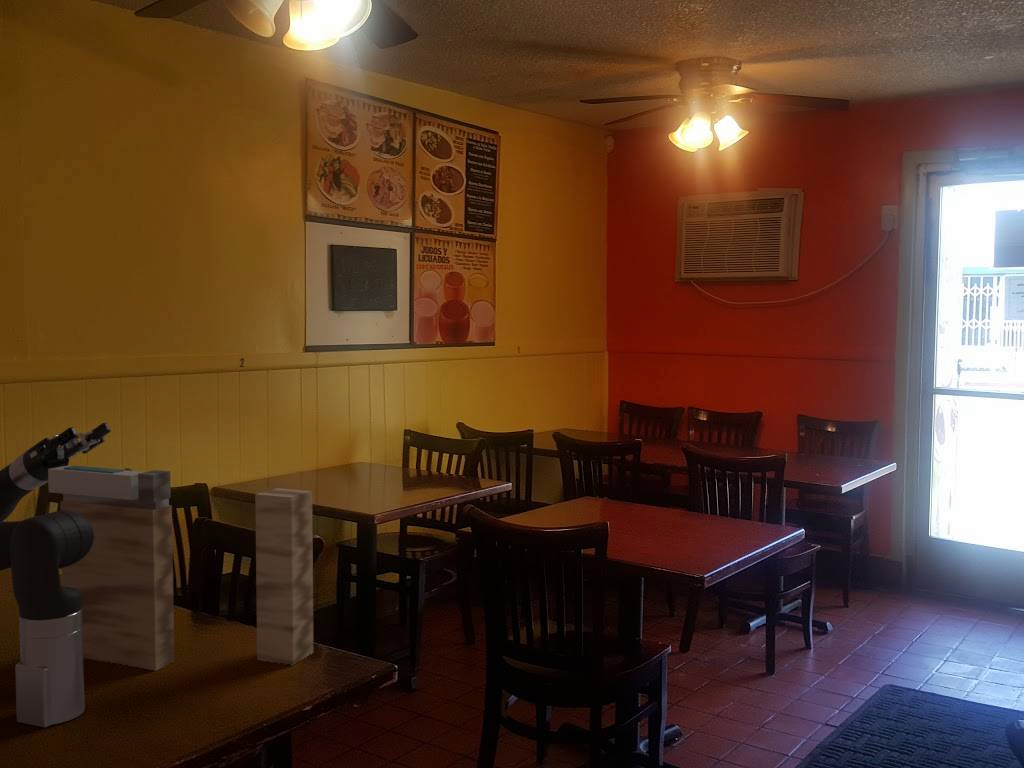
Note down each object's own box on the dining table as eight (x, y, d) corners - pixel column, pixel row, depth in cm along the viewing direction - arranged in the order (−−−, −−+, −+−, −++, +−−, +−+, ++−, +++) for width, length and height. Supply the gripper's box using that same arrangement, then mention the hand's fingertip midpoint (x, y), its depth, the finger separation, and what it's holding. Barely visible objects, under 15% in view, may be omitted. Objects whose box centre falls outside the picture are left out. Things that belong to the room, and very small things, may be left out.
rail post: (155, 670, 173) (152, 475, 171) (64, 655, 181) (59, 467, 179) (174, 661, 178) (171, 471, 176) (84, 646, 186) (79, 463, 183)
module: (148, 495, 177) (148, 470, 177) (131, 499, 173) (130, 474, 173) (67, 488, 184) (66, 464, 184) (48, 492, 180) (48, 467, 180)
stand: (293, 665, 176) (291, 497, 174) (257, 659, 179) (255, 494, 177) (313, 653, 183) (312, 491, 181) (278, 648, 186) (277, 488, 184)
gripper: (1, 453, 185) (54, 415, 180) (59, 444, 199) (110, 409, 193) (16, 487, 184) (70, 450, 179) (73, 476, 198) (125, 441, 192)
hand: (91, 429), depth 186 cm, fingers open, 8 cm apart
